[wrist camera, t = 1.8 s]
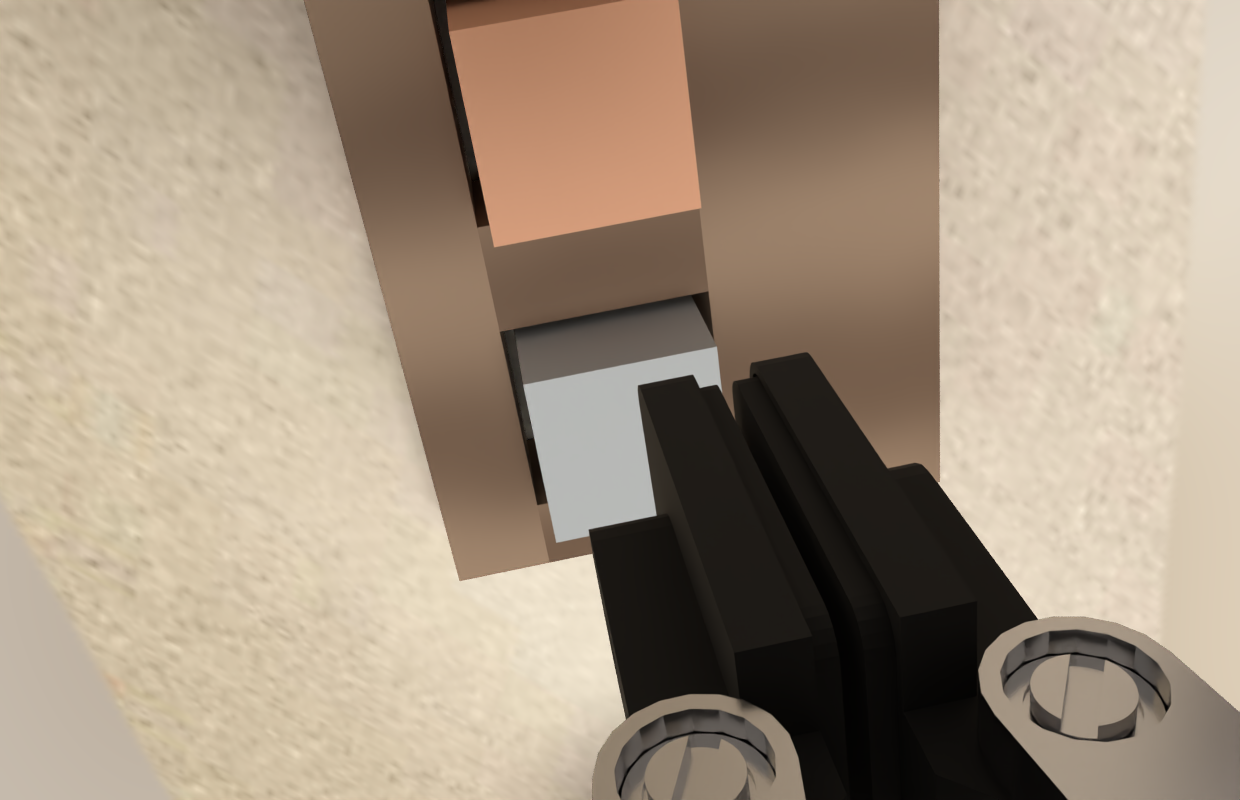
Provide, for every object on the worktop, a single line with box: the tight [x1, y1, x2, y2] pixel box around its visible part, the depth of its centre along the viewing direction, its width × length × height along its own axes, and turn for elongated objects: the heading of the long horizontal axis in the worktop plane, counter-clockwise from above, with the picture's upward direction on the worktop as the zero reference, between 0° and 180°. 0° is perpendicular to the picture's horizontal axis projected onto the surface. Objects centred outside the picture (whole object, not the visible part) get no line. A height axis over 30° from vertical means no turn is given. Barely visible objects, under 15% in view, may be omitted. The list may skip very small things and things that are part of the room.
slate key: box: [514, 295, 722, 543], centre depth 26 cm, size 4×4×4 cm
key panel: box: [304, 0, 940, 581], centre depth 24 cm, size 22×12×3 cm, turn 8°
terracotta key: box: [446, 0, 701, 247], centre depth 22 cm, size 4×4×4 cm
